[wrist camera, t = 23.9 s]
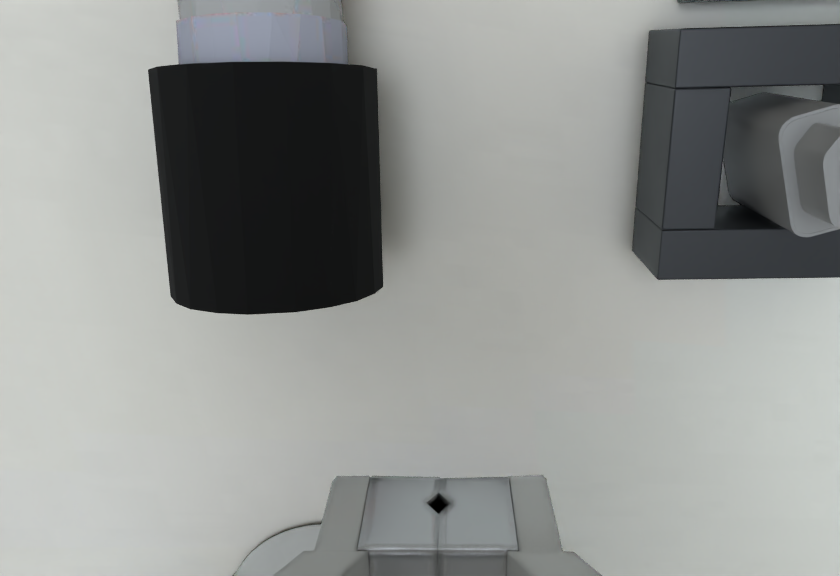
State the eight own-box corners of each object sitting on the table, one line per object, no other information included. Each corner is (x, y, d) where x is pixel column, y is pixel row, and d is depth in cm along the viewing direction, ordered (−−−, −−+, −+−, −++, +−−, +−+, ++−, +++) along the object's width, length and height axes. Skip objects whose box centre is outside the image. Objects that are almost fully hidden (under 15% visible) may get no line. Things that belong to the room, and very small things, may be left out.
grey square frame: (844, 248, 38) (900, 277, 33) (631, 251, 39) (657, 280, 34) (885, 23, 34) (955, 20, 30) (648, 30, 35) (680, 28, 30)
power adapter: (776, 88, 35) (929, 110, 24) (790, 189, 37) (939, 253, 26) (714, 107, 36) (836, 136, 25) (731, 205, 38) (852, 276, 26)
